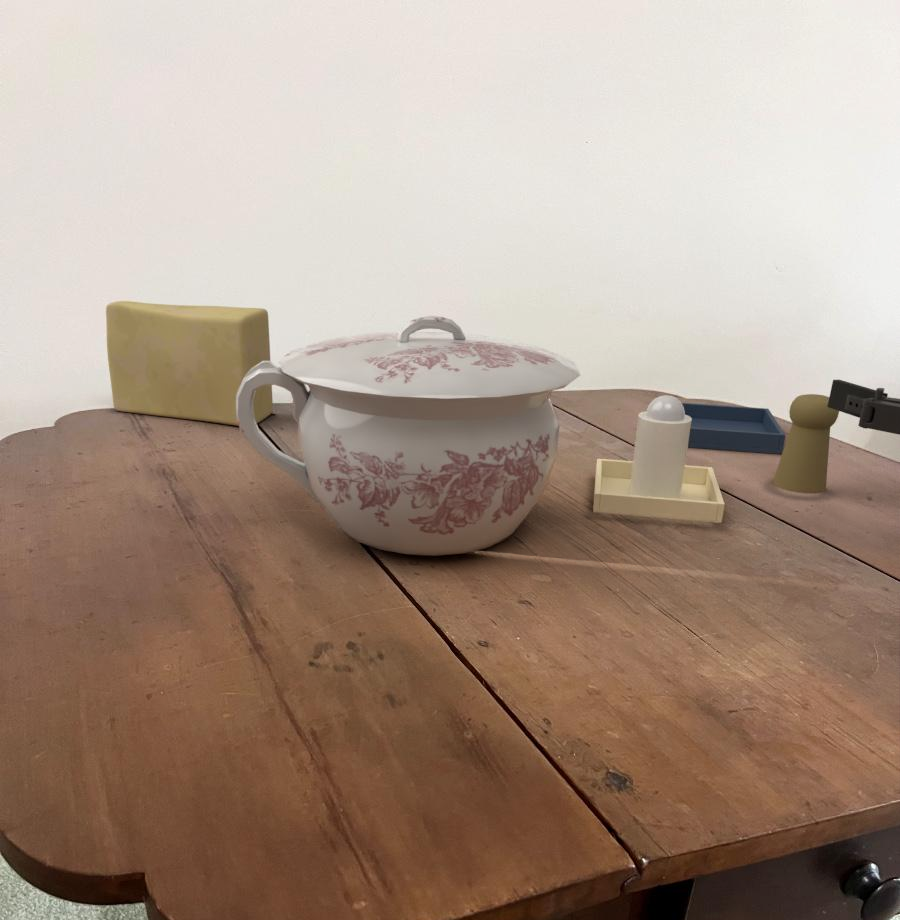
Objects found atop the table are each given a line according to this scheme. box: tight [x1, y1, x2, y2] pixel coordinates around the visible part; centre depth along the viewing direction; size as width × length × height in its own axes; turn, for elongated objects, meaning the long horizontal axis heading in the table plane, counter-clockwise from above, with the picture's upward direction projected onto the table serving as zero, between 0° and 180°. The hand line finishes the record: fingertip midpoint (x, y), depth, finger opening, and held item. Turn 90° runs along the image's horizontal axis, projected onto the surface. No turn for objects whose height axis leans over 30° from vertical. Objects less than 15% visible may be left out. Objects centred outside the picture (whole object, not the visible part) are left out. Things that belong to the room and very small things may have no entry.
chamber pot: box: [236, 315, 581, 557], centre depth 87 cm, size 28×28×21 cm
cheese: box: [105, 300, 274, 427], centre depth 126 cm, size 22×10×15 cm, turn 80°
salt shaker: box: [629, 394, 692, 499], centre depth 99 cm, size 6×6×11 cm
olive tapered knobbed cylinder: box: [772, 393, 840, 494], centre depth 105 cm, size 6×6×11 cm
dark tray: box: [681, 402, 787, 455], centre depth 128 cm, size 15×15×3 cm
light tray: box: [592, 458, 726, 524], centre depth 101 cm, size 13×13×3 cm
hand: (886, 390), depth 93 cm, fingers open, 13 cm apart
